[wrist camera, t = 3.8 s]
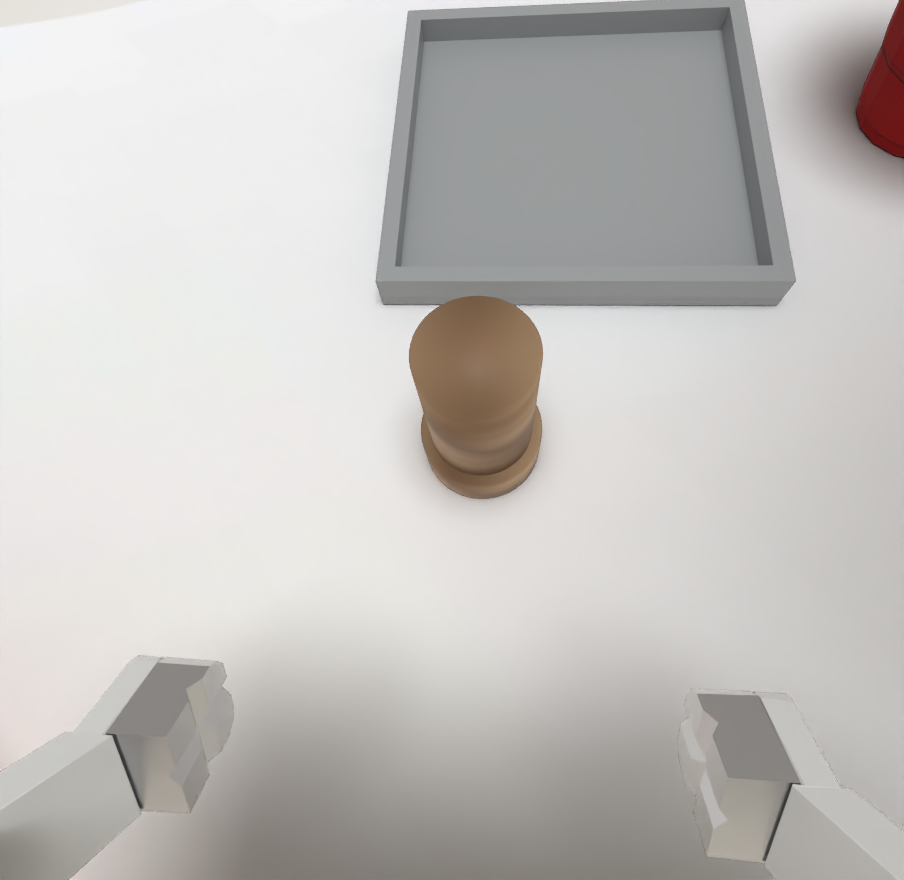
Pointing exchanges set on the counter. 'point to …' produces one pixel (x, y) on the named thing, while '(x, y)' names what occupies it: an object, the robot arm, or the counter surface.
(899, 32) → the plastic cup
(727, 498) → the counter surface
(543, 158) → the grey tray
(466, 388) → the walnut pestle
